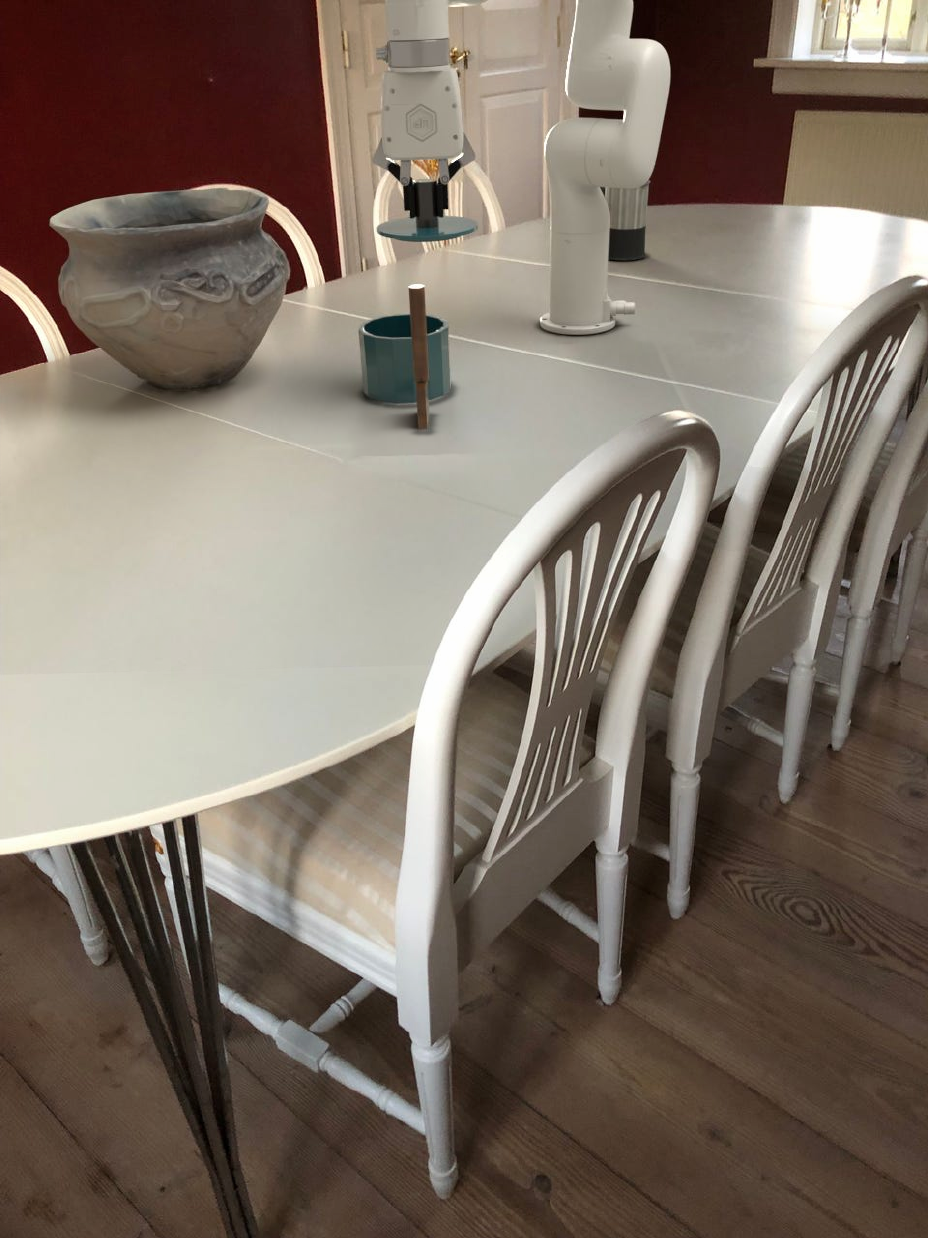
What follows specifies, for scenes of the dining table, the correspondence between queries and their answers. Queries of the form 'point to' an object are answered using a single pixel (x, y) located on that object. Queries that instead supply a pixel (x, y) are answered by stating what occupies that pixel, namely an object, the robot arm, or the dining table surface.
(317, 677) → the dining table surface
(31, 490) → the dining table surface
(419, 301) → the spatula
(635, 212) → the milk frother
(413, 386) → the pot
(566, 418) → the dining table surface
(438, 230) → the lid
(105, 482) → the dining table surface
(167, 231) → the clay pot
